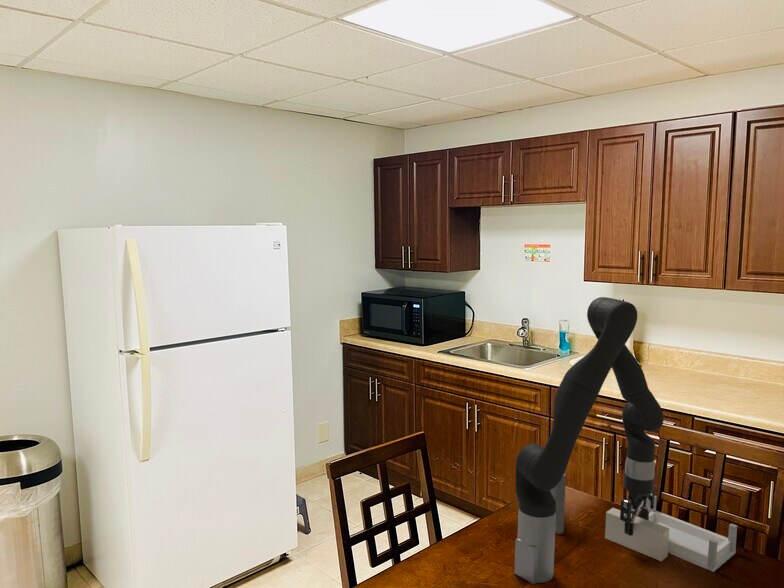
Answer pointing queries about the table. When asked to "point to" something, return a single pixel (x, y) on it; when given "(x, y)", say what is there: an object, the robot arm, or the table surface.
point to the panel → (638, 535)
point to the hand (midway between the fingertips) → (636, 529)
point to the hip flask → (559, 504)
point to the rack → (696, 541)
